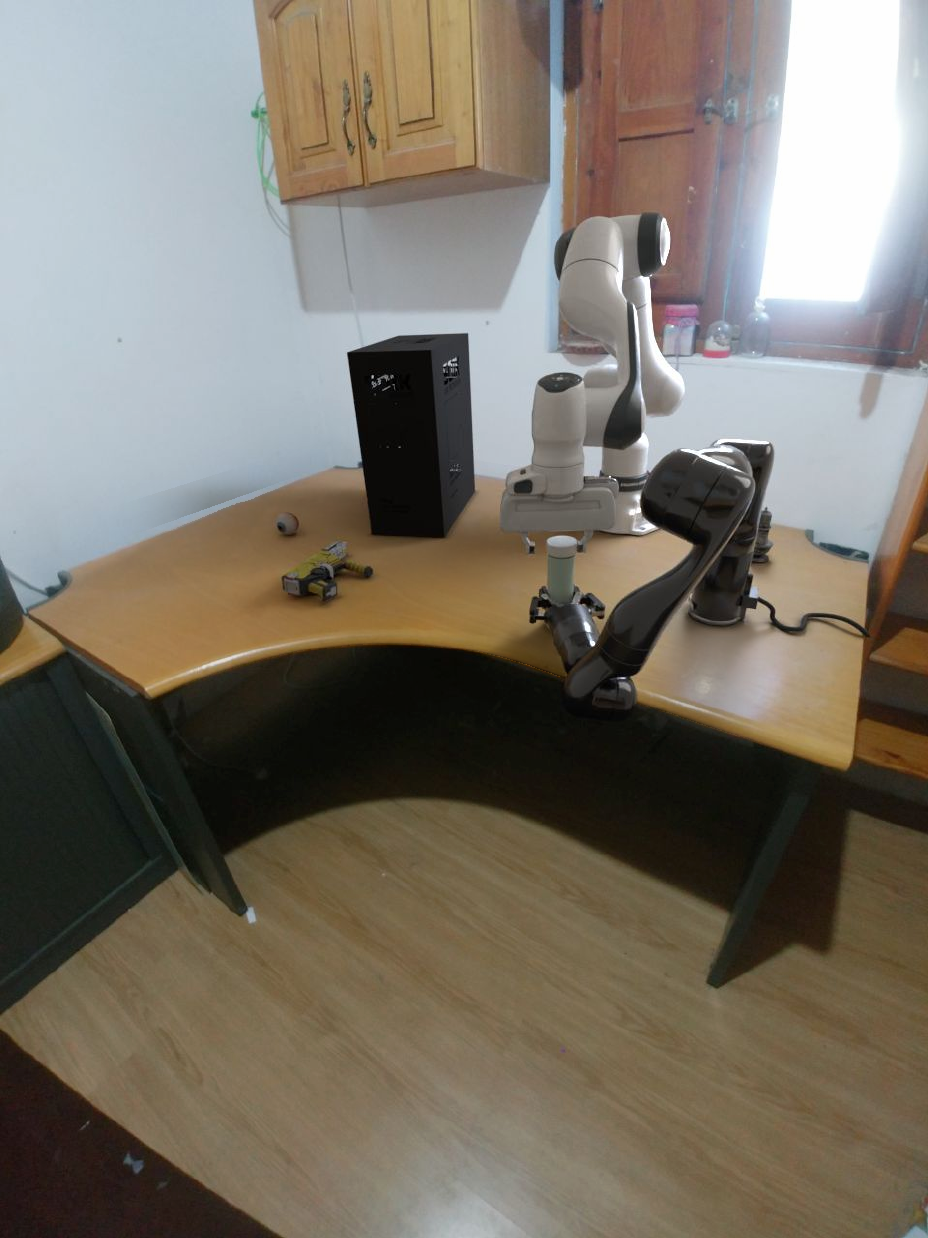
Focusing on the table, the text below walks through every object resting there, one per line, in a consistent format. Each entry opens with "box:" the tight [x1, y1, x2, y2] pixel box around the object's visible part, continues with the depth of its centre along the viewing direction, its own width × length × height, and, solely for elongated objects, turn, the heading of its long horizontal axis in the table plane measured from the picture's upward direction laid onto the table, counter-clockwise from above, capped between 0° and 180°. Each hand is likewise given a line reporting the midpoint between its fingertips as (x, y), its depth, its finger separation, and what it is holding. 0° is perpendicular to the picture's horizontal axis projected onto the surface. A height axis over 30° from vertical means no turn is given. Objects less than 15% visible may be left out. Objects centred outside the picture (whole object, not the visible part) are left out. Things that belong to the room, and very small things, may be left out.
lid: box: [546, 535, 578, 558], centre depth 108 cm, size 5×5×2 cm
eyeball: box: [275, 511, 300, 536], centre depth 163 cm, size 6×6×6 cm
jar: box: [546, 554, 576, 629], centre depth 112 cm, size 5×5×17 cm
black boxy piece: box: [346, 332, 476, 538], centre depth 164 cm, size 38×20×45 cm, turn 167°
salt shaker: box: [752, 506, 774, 563], centre depth 134 cm, size 6×6×12 cm
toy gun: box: [281, 539, 374, 603], centre depth 138 cm, size 5×24×15 cm
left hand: (555, 552), depth 109 cm, fingers open, 8 cm apart
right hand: (557, 589), depth 115 cm, fingers closed on jar, 5 cm apart
